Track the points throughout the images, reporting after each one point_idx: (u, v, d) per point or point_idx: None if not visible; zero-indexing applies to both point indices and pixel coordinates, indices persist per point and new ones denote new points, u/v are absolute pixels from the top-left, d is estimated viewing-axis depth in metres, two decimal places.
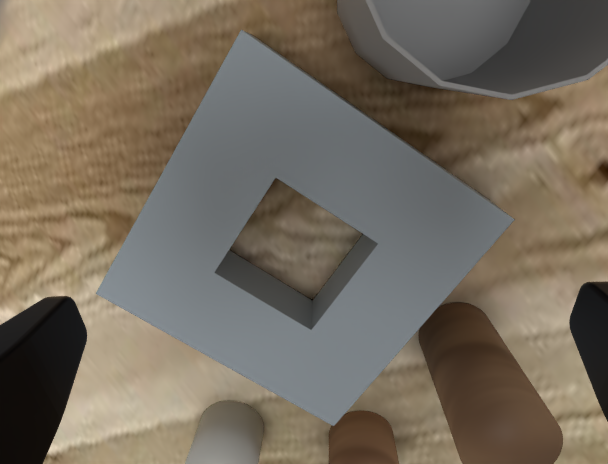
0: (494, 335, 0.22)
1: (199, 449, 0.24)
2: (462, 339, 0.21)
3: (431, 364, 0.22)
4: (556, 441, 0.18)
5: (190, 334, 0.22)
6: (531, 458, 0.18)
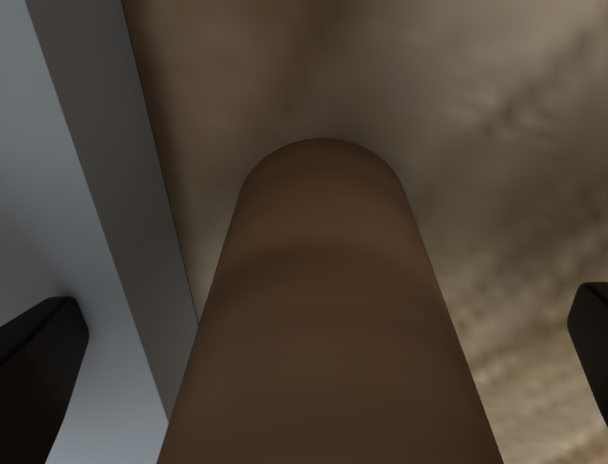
0: (309, 205, 0.07)
1: None
2: (218, 272, 0.07)
3: None
4: None
5: None
6: None
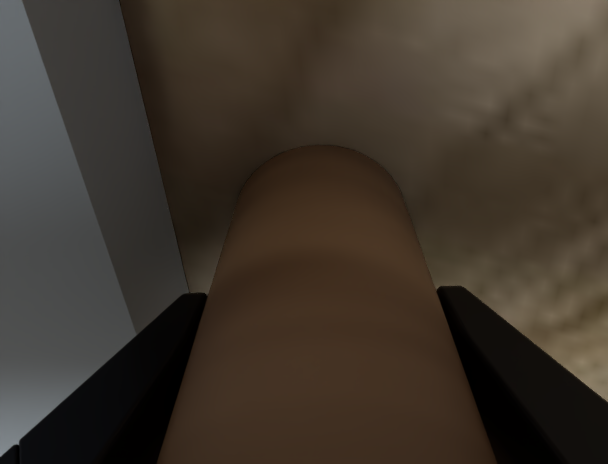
0: (307, 213, 0.07)
1: None
2: (215, 281, 0.07)
3: None
4: None
5: None
6: None
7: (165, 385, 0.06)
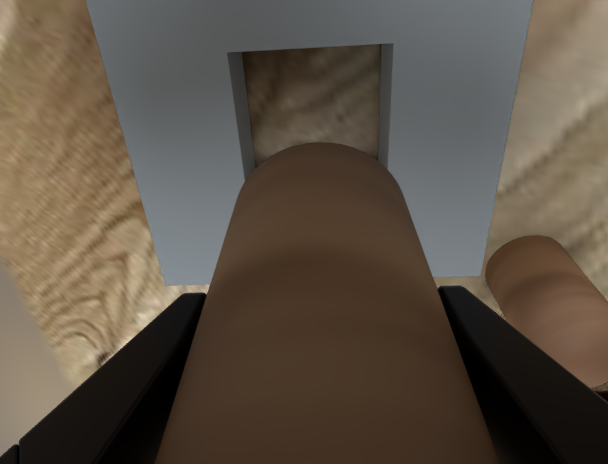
0: (307, 211, 0.07)
1: None
2: (215, 277, 0.07)
3: None
4: None
5: None
6: None
7: (165, 384, 0.06)
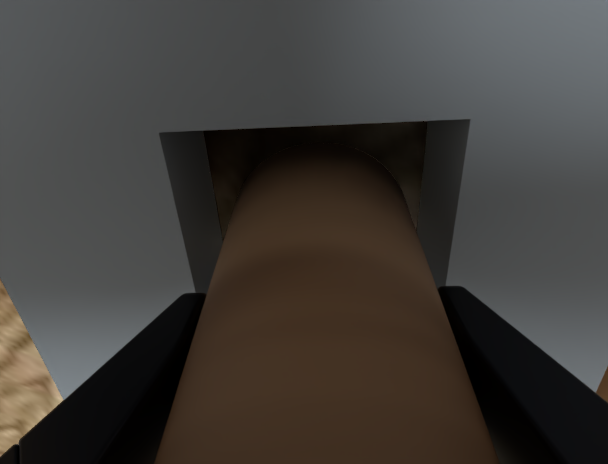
0: (307, 210, 0.07)
1: None
2: (215, 278, 0.07)
3: None
4: None
5: None
6: None
7: (166, 385, 0.06)
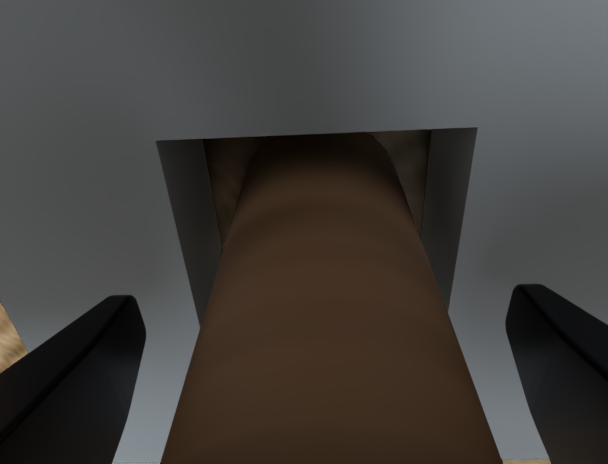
0: (310, 172, 0.08)
1: None
2: (232, 230, 0.08)
3: None
4: None
5: None
6: None
7: (71, 386, 0.06)
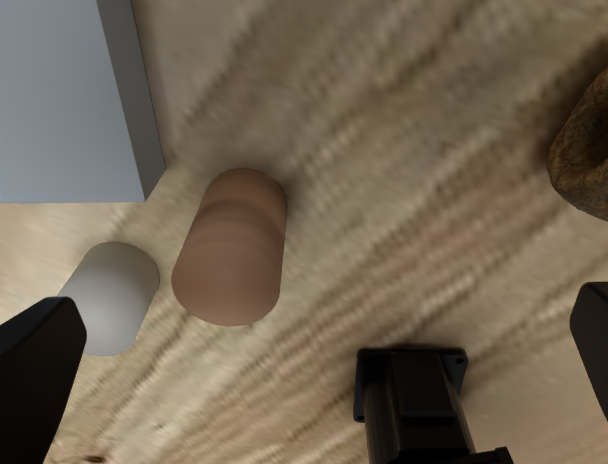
0: None
1: None
2: None
3: None
4: None
5: None
6: None
7: None
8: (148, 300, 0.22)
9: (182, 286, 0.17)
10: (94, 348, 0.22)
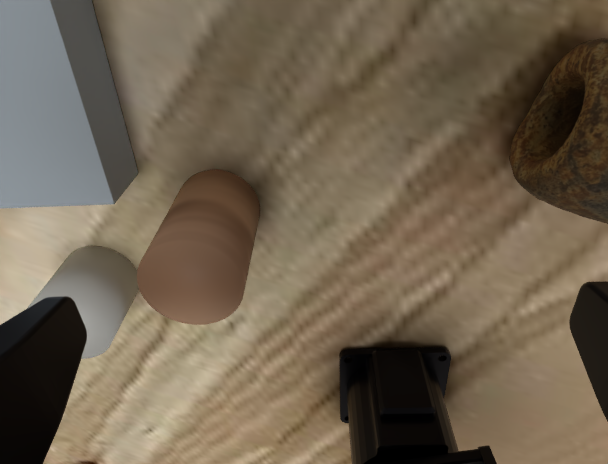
0: None
1: None
2: None
3: None
4: None
5: None
6: None
7: None
8: (126, 302, 0.23)
9: (148, 285, 0.17)
10: None
